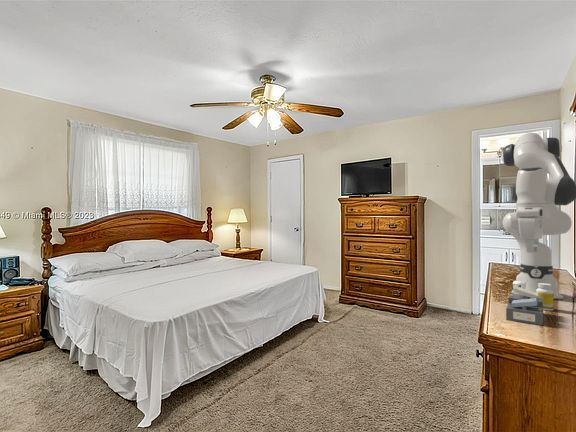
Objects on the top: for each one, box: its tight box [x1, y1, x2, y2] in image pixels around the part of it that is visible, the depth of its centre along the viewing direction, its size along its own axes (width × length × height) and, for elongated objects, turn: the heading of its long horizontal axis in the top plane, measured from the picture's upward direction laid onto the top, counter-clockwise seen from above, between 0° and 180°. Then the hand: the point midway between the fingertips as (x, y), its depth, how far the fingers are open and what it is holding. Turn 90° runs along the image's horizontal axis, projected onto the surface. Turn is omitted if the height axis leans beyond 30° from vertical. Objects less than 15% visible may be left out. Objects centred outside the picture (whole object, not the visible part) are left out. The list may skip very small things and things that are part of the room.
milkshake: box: [512, 280, 528, 295], centre depth 135 cm, size 5×5×10 cm
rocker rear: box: [514, 286, 538, 299], centre depth 119 cm, size 6×7×1 cm
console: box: [505, 292, 544, 327], centre depth 116 cm, size 18×10×7 cm, turn 141°
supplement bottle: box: [536, 283, 555, 311], centre depth 126 cm, size 5×5×10 cm
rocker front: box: [512, 298, 538, 307], centre depth 112 cm, size 6×7×1 cm
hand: (532, 252), depth 112 cm, fingers open, 8 cm apart
